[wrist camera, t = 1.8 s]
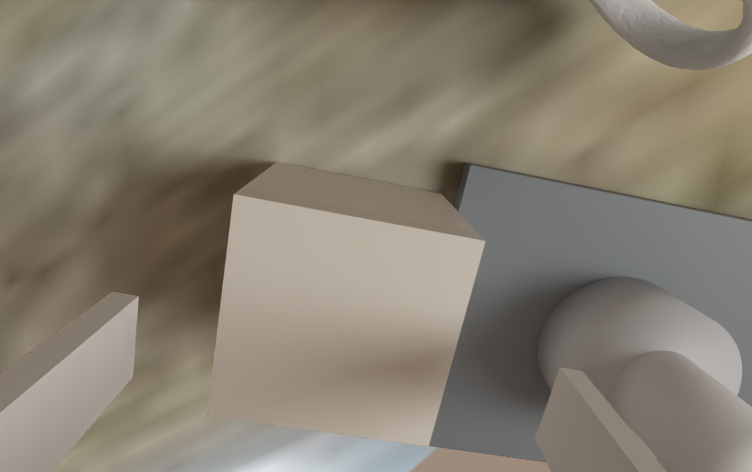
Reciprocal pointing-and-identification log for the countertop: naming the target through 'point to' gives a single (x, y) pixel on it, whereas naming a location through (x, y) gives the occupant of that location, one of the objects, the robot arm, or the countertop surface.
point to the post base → (558, 263)
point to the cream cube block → (341, 304)
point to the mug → (676, 35)
